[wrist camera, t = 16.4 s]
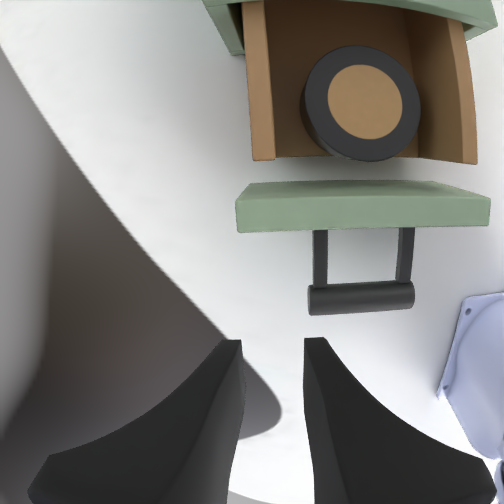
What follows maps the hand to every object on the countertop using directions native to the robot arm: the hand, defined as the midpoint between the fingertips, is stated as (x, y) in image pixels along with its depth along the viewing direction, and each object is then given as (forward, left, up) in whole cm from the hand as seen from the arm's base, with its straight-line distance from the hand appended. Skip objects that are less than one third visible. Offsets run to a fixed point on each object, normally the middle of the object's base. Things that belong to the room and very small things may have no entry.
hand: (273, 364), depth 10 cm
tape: (+9, -4, -7) cm, 12 cm away
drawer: (+8, -4, -9) cm, 12 cm away
